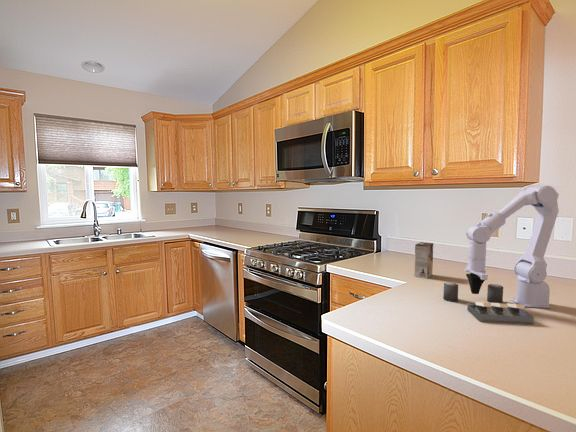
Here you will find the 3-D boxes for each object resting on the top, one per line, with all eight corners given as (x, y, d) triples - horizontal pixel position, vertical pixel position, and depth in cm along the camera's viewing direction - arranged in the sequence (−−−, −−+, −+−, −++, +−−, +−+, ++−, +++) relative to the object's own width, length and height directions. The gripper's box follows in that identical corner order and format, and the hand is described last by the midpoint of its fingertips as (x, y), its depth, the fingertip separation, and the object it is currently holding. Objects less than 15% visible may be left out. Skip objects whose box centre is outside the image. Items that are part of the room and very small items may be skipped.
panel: (516, 312, 114) (516, 303, 114) (533, 324, 105) (534, 314, 104) (467, 310, 117) (467, 301, 116) (479, 321, 107) (480, 311, 106)
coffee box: (419, 272, 168) (420, 241, 167) (432, 274, 164) (433, 243, 163) (413, 276, 161) (415, 244, 159) (427, 278, 157) (428, 245, 155)
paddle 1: (475, 304, 114) (475, 301, 114) (483, 305, 114) (483, 301, 114) (483, 306, 108) (483, 302, 108) (491, 306, 108) (491, 303, 108)
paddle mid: (491, 305, 113) (491, 302, 113) (498, 305, 113) (498, 302, 113) (500, 307, 107) (499, 303, 108) (507, 307, 107) (507, 304, 107)
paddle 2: (506, 306, 113) (506, 303, 113) (514, 306, 112) (514, 303, 112) (516, 308, 107) (516, 304, 107) (524, 308, 106) (524, 304, 107)
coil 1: (454, 297, 130) (455, 282, 129) (459, 302, 125) (460, 285, 124) (441, 297, 131) (442, 281, 130) (445, 301, 126) (446, 285, 125)
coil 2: (498, 299, 128) (499, 283, 127) (505, 304, 123) (506, 287, 122) (484, 299, 128) (485, 283, 128) (490, 303, 123) (491, 287, 123)
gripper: (458, 254, 131) (456, 287, 132) (473, 262, 117) (471, 299, 118) (477, 254, 130) (475, 288, 131) (494, 262, 116) (492, 300, 117)
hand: (474, 293), depth 124 cm, fingers closed
